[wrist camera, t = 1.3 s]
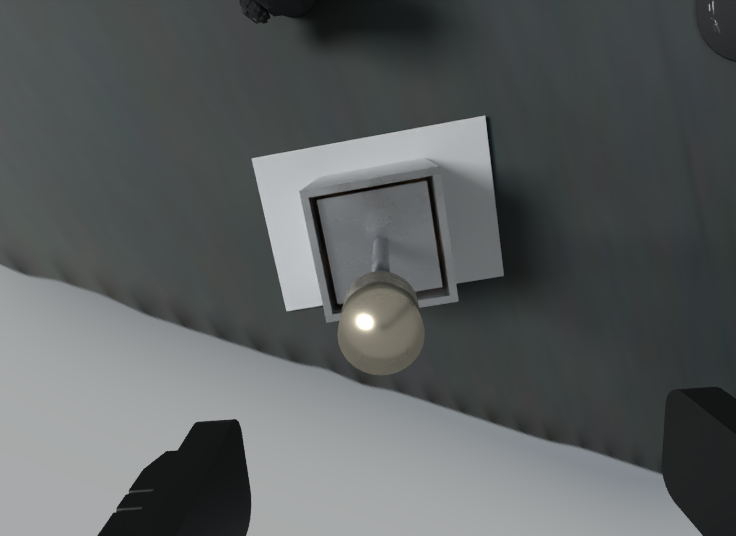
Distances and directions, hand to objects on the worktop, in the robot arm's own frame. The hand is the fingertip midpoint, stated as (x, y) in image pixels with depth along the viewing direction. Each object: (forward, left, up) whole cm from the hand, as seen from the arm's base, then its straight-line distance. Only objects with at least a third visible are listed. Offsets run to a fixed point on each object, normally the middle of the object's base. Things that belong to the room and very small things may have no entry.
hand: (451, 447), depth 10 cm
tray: (+2, +1, -37) cm, 37 cm away
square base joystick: (+2, +1, -37) cm, 37 cm away
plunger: (+2, +1, -26) cm, 26 cm away
